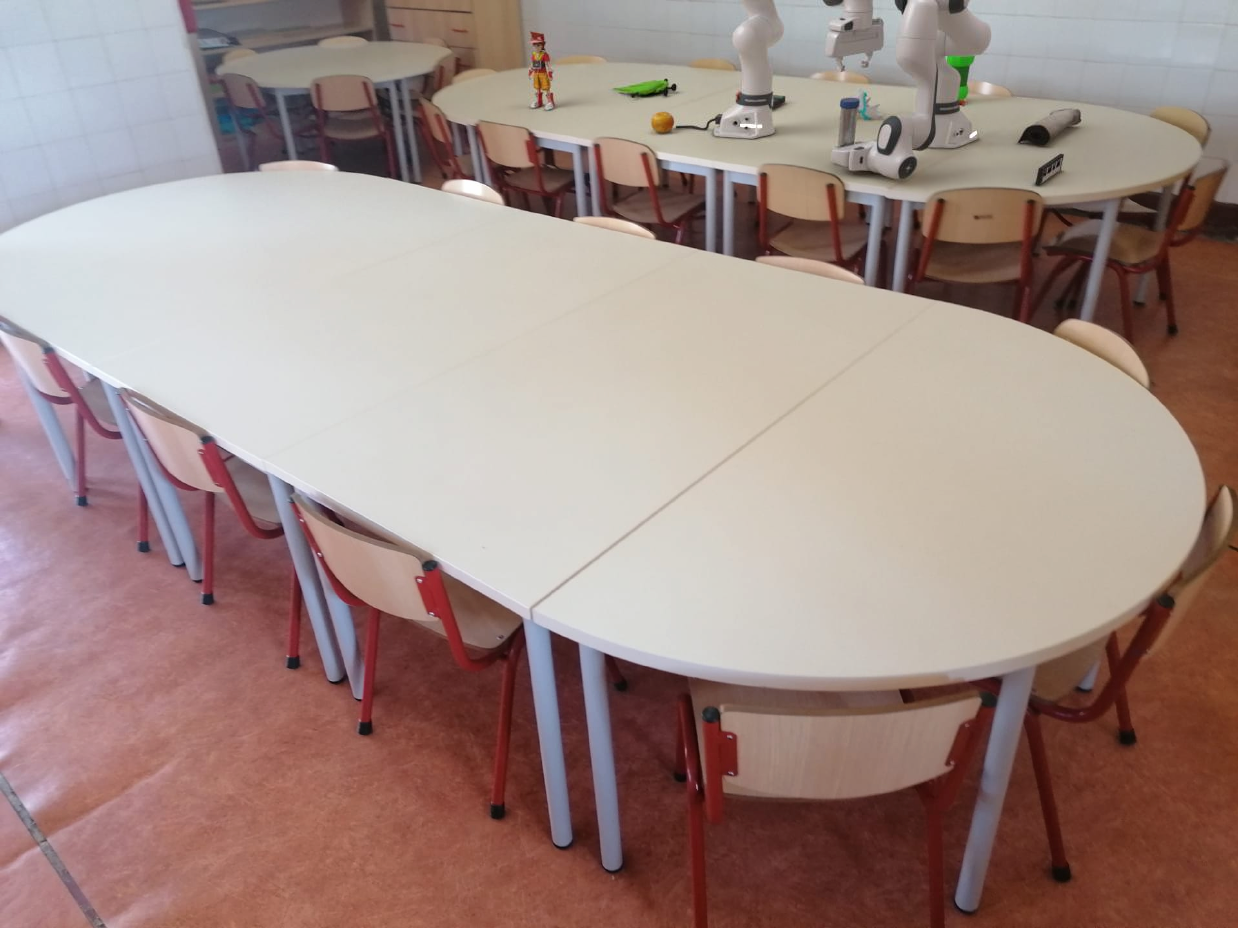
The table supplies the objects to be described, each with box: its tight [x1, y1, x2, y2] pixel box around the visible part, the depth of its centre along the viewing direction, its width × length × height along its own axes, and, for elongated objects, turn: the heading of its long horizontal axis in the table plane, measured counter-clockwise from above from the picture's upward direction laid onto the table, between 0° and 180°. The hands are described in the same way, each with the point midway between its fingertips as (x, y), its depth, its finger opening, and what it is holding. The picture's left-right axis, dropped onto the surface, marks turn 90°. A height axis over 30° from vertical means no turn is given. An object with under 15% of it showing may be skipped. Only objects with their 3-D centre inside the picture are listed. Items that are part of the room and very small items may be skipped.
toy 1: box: [527, 31, 556, 111], centre depth 374 cm, size 12×9×30 cm
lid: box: [839, 97, 860, 109], centre depth 287 cm, size 6×6×2 cm
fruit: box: [650, 111, 675, 133], centre depth 339 cm, size 8×8×8 cm
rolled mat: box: [1017, 107, 1082, 147], centre depth 310 cm, size 30×9×10 cm
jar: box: [837, 107, 859, 148], centre depth 292 cm, size 5×5×20 cm
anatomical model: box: [850, 88, 885, 120], centre depth 343 cm, size 15×10×10 cm
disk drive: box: [772, 94, 786, 110], centre depth 364 cm, size 10×3×15 cm
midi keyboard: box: [1035, 153, 1065, 186], centre depth 273 cm, size 18×1×5 cm, turn 138°
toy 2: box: [612, 78, 677, 99], centre depth 396 cm, size 28×5×30 cm
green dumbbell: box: [946, 55, 976, 100], centre depth 348 cm, size 10×10×25 cm
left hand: (852, 69), depth 281 cm, fingers open, 8 cm apart
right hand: (845, 146), depth 295 cm, fingers open, 8 cm apart
